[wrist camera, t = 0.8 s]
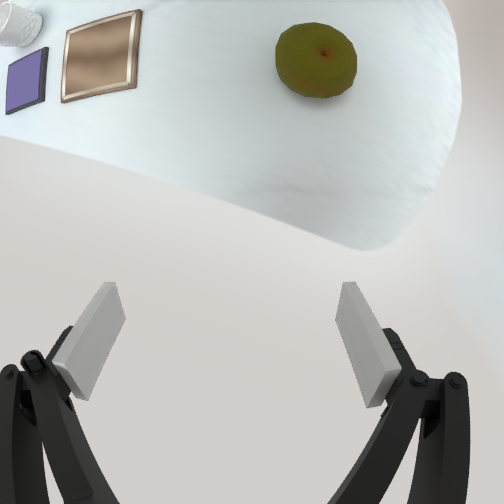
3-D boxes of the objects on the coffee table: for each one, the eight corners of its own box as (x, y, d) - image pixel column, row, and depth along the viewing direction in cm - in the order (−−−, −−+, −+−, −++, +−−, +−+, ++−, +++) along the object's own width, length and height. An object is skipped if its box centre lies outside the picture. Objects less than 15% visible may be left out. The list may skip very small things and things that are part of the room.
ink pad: (12, 65, 26) (7, 65, 25) (48, 47, 26) (44, 46, 25) (9, 114, 30) (4, 115, 29) (44, 100, 31) (40, 100, 29)
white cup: (38, 5, 21) (6, -6, 12) (50, 23, 24) (15, 13, 15) (12, 37, 23) (-22, 32, 14) (22, 57, 26) (-14, 54, 17)
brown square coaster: (69, 31, 26) (66, 30, 25) (141, 11, 26) (139, 8, 25) (64, 103, 31) (59, 103, 30) (135, 87, 32) (132, 86, 31)
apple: (260, 46, 30) (265, 18, 20) (325, 31, 29) (351, 4, 19) (286, 109, 34) (302, 104, 24) (350, 92, 33) (385, 84, 23)
